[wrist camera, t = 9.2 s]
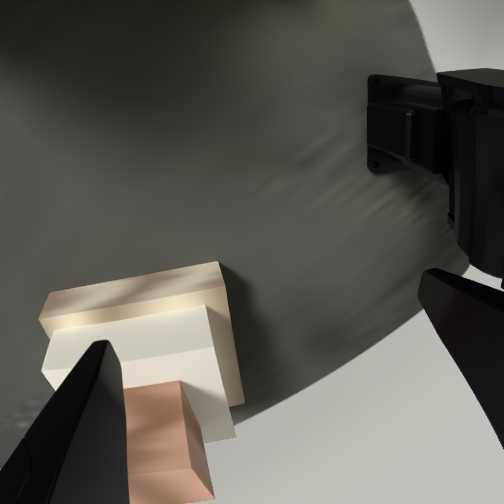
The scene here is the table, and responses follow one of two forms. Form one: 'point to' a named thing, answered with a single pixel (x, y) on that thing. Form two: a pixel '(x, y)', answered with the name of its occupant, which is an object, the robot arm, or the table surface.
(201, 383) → the cream top slab
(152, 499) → the terracotta cube
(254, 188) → the table surface
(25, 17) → the table surface
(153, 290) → the birch base slab
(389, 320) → the table surface
